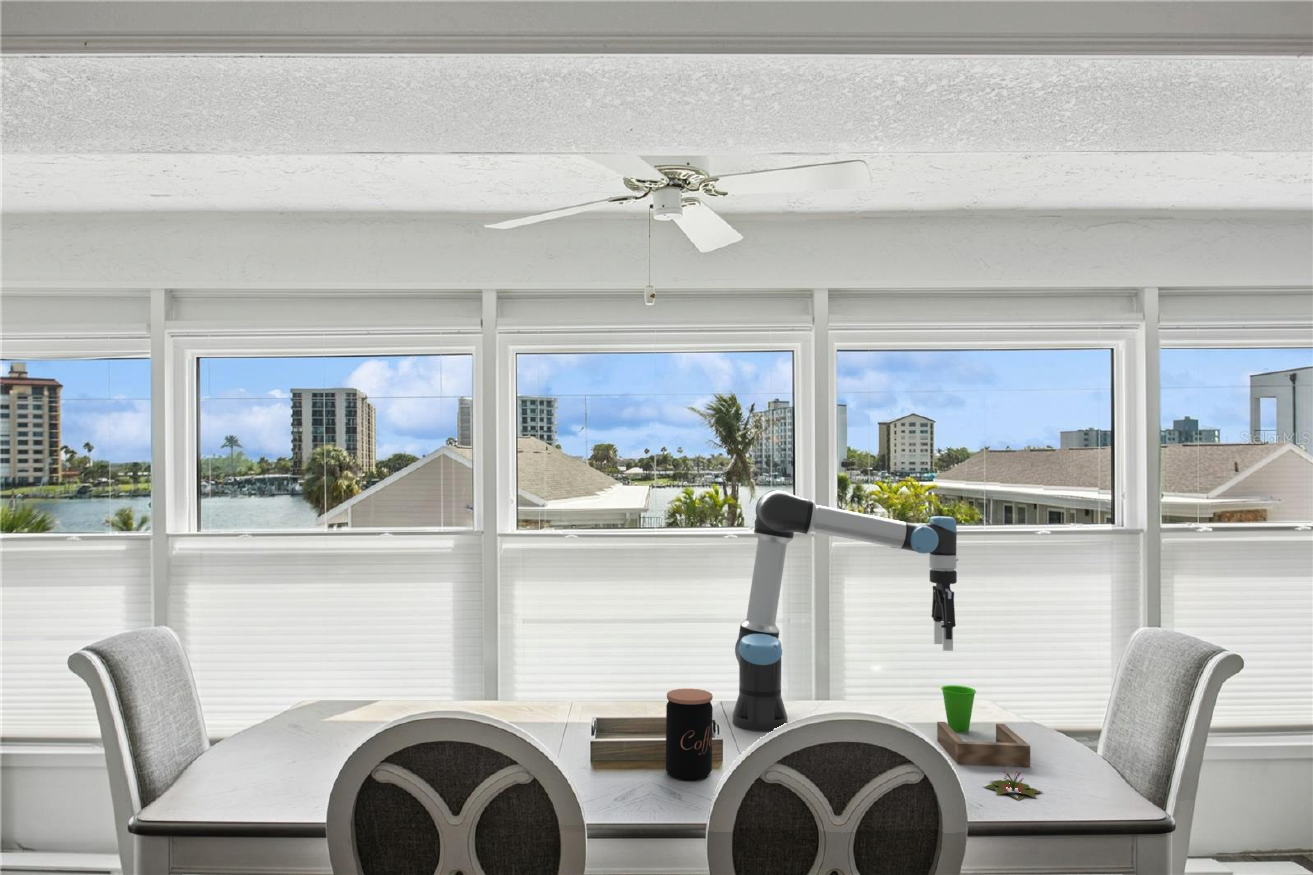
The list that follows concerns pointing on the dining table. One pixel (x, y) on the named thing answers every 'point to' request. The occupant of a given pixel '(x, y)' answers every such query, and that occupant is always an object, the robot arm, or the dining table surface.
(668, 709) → the coffee jar
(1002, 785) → the lily flower
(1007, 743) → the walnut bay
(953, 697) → the cup
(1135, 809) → the dining table surface
